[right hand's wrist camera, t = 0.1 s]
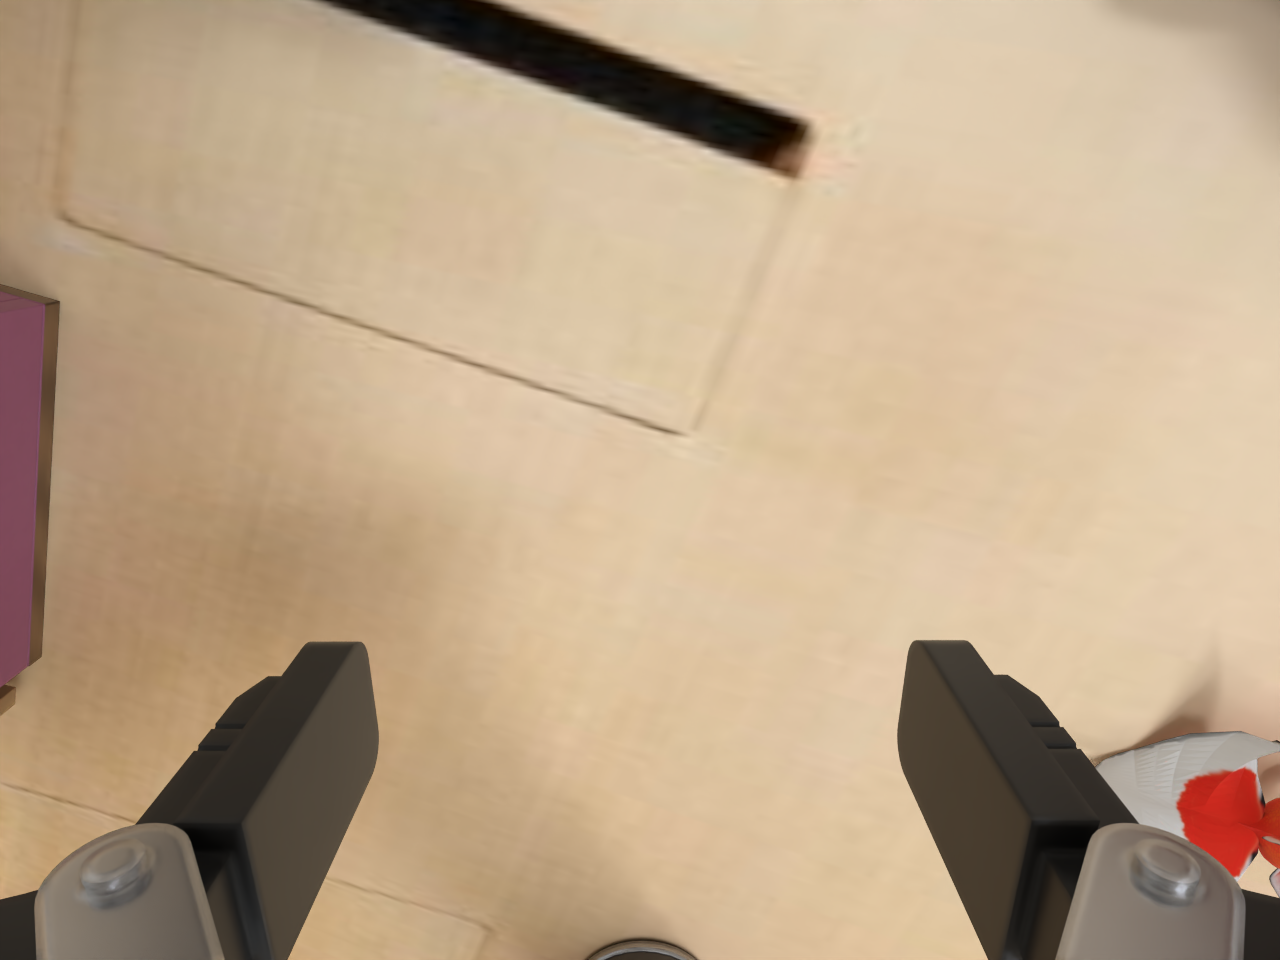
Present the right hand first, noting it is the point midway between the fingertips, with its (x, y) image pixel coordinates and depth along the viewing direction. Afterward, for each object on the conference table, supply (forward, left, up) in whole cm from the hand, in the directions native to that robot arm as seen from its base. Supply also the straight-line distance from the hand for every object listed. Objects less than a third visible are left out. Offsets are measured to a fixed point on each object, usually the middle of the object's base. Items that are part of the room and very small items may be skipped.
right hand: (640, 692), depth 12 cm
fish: (-27, -34, -29) cm, 52 cm away
